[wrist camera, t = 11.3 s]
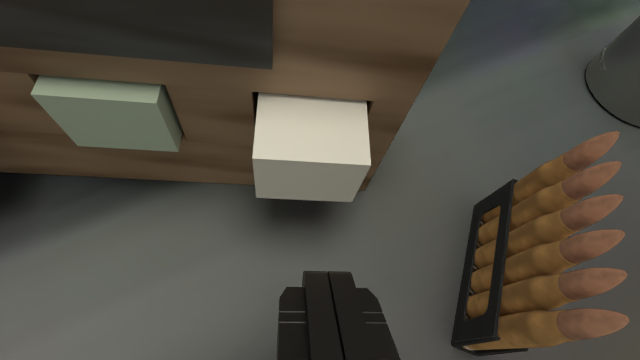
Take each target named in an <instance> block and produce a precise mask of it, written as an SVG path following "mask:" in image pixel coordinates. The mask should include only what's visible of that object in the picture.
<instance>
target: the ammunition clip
mask: <svg viewBox="0 0 640 360" xmlns="http://www.w3.org/2000/svg"><path fill="white" fill-rule="evenodd" d="M619 136H620V132H618V131H613V132H608V133H604V134H601V135H599V136H596V137H593V138H591V139H589V140H587V141H585V142H583V143H581V144H579V145H578V146H576V147H574V148H573V149H571V150H570V151H568V152H566V153H564V154H563V155H561V156H559V157H558V158H556V159H554V160H551V161H549V162H547V163H545V164H543V165H541V166H540V167H538V168H537V169H535V170H534V171H533V172H531V173H530V174H528V175H527V176H525V177H524V178H523V179H521V180H520V181H517V180H515V179H512V180H511V181H509V182H508V183H507V184H505V185H504V186H502V187H501V188H499V189H498V190H496V191H495V192H493V193H492V194H490V195H489V196H488V197H486V198H485V199H483V200H482V201H480V202H479V203H477V204H476V205H475V206H474V210H473V216H472V222H471V228H470V234H469V240H468V245H467V251H466V257H465V263H464V269H463V275H462V281H461V287H460V293H459V299H458V304H457V310H456V316H455V322H454V328H453V334H452V340H451V343H452V346H453V347H456V348H458V349H461V350H463V351H466V352H468V353H471V354H473V355H476V356H484V355H493V354H503V353H512V352H522V351H528V348H536V347H551V346H555V345H558V344H561V343H563V342H571V341H576V340H584V339H591V338H596V337H601V336H605V335H608V334H611V333H614V332H616V331H618V330H620V329H622V328H623V327H625V326H626V325H627V324H628V323H629V321H630V319H629V317H628V316H626V315H624V314H621V313H618V312H614V311H609V310H602V309H572V310H557V311H548V310H551V309H555V308H558V307H560V306H562V305H564V304H566V303H569V302H573V301H577V300H579V299H583V298H588V297H592V296H595V295H598V294H601V293H604V292H606V291H608V290H610V289H612V288H614V287H615V286H617V285H619V284H620V283H621V282H622V281H623V280H624V279H625V278H626V277H627V272H625V271H623V270H620V269H615V268H588V269H581V270H575V271H571V272H567V273H561V272H562V271H564V270H565V269H567V268H569V267H572V266H575V265H577V264H579V263H581V262H584V261H587V260H590V259H593V258H595V257H597V256H599V255H601V254H603V253H605V252H607V251H608V250H610V249H611V248H613V247H614V246H615V245H617V244H618V243H619V242H620V241H621V240H622V239H623V238H624V236H625V232H624V231H622V230H615V229H607V230H597V231H591V232H586V233H582V234H578V235H575V236H572V237H569V238H567V237H568V236H570V235H572V234H574V233H576V232H578V231H580V230H581V229H583V228H586V227H588V226H590V225H592V224H594V223H596V222H597V221H599V220H601V219H603V218H604V217H605V216H607V215H608V214H610V213H611V212H612V211H613V210H614V209H616V208H617V207H618V206H619V204H620V203H621V202H622V200H623V196H622V195H620V194H609V195H603V196H597V197H593V198H589V199H586V200H583V201H580V202H578V203H576V202H577V201H579V200H581V199H582V198H583V197H585V196H587V195H589V194H591V193H592V192H594V191H595V190H597V189H598V188H600V187H601V186H603V185H604V184H605V183H607V182H608V181H609V180H610V179H611V178H612V177H613V176H614V175H615V174H616V173H617V172H618V170H619V169H620V167H621V165H622V164H621V162H619V161H613V162H606V163H602V164H598V165H595V166H592V167H589V168H587V169H585V170H583V169H584V168H586V167H588V166H589V165H591V164H592V163H594V162H595V161H597V160H598V159H599V158H600V157H602V156H603V155H604V154H605V153H606V152H607V151H608V150H609V149H610V148H611V147H612V146H613V145H614V144H615V142H616V141H617V139H618V138H619ZM516 182H517V183H516ZM574 203H575V204H574ZM572 204H573V205H572ZM566 238H567V239H566ZM559 273H560V274H559Z"/></svg>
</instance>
